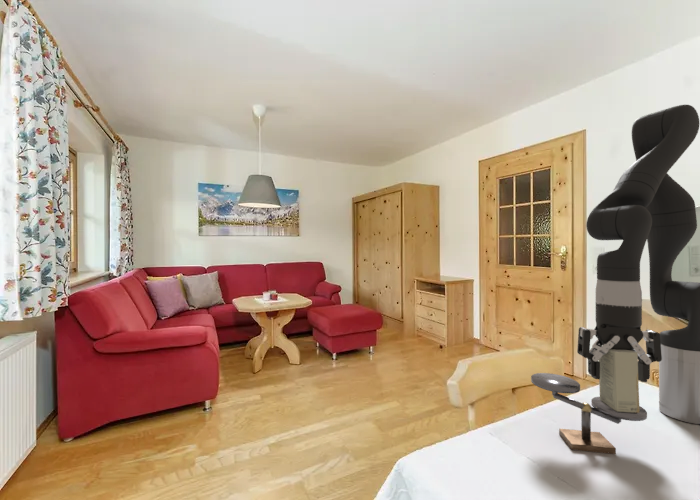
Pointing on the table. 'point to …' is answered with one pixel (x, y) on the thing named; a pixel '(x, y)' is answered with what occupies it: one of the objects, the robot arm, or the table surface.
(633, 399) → the skincare box
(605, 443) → the balance
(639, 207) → the robot arm
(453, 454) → the table surface
